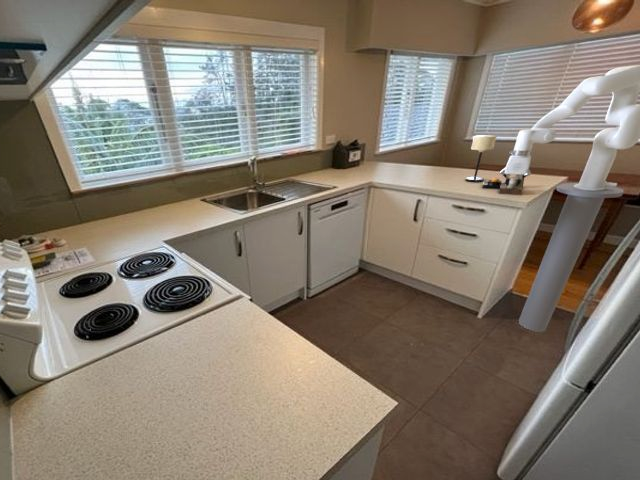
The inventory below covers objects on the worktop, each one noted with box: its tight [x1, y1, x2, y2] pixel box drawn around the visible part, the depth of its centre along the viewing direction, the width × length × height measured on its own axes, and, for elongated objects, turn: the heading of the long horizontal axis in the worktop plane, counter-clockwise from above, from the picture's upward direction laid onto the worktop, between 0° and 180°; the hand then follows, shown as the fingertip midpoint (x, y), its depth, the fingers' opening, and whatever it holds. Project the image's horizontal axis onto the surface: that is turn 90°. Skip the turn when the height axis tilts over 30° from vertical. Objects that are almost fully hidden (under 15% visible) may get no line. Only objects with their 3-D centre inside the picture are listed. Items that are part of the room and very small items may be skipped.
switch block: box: [482, 179, 506, 190], centre depth 187 cm, size 11×9×4 cm
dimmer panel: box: [498, 184, 523, 196], centre depth 175 cm, size 10×9×3 cm
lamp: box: [465, 134, 498, 183], centre depth 199 cm, size 12×12×29 cm
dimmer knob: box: [507, 176, 518, 188], centre depth 173 cm, size 4×4×6 cm
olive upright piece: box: [514, 174, 525, 189], centre depth 181 cm, size 6×6×11 cm
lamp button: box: [491, 177, 500, 182], centre depth 186 cm, size 4×4×2 cm
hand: (511, 185), depth 174 cm, fingers closed on dimmer knob, 4 cm apart
